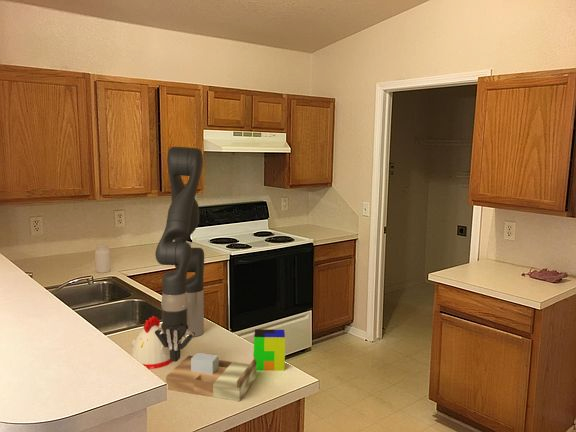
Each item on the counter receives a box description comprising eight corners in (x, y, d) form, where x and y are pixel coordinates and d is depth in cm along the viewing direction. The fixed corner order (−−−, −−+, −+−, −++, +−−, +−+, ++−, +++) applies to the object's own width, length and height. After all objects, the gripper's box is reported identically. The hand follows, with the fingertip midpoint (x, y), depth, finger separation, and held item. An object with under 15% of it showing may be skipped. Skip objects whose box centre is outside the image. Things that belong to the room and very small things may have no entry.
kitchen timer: (122, 364, 157) (120, 320, 155) (147, 348, 170) (147, 307, 168) (158, 372, 153) (157, 327, 151) (181, 355, 166) (181, 313, 163)
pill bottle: (92, 272, 266) (91, 246, 264) (100, 269, 274) (99, 243, 272) (105, 273, 265) (105, 246, 263) (113, 269, 273) (112, 243, 271)
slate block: (197, 364, 150) (197, 352, 149) (218, 367, 148) (218, 355, 147) (191, 371, 145) (190, 358, 145) (212, 374, 144) (212, 361, 143)
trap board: (188, 367, 157) (188, 349, 156) (256, 377, 151) (256, 359, 150) (166, 389, 142) (165, 370, 141) (239, 401, 136) (239, 381, 136)
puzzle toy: (283, 357, 166) (284, 329, 164) (284, 370, 156) (285, 341, 154) (254, 357, 165) (255, 329, 164) (253, 370, 156) (253, 341, 154)
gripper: (199, 304, 148) (200, 358, 151) (161, 300, 152) (161, 352, 154) (188, 312, 141) (189, 368, 143) (148, 308, 144) (149, 362, 147)
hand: (175, 360), depth 149 cm, fingers closed
